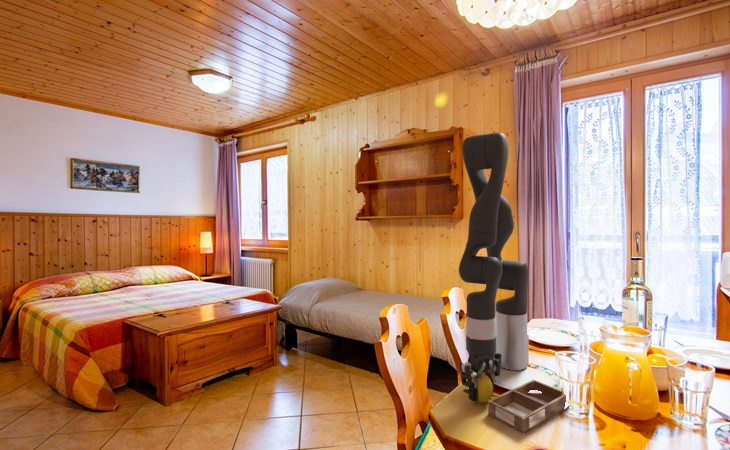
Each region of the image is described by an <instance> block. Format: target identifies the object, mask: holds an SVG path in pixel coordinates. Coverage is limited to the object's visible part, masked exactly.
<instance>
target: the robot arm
mask: <svg viewBox="0 0 730 450" xmlns="http://www.w3.org/2000/svg"><path fill="white" fill-rule="evenodd" d="M461 146H462V147H461V150H462V159H463V162H464V166H465V169H466V173H467V175H468V179H469V182H470V185H471V187H472V188H471V189H472V191H473V195H474V200H475V203H474V204H473V206H472V208H471V210H470V214H469V217H468V218H469V219H468V230H467V231H468V234H467V240H466V244H465V248H464V250H463V251H464V252H463V254H462V256H461V258H460V262H459V266H458V275H459V277H460V279H461V280H462V281H463V282H464V283H468V284H477V285H478V284H479V285H485V288H484V289H483V290H480V291H479V290H478V291H472V292H470V293H468V294H467V295H466V318H465V319H466V320H465V349H466V351H467V354H468V358H467V361H466V362H465V363H463V362H460V363H459V365H458V366H459V371H460V380H461V384H462V386H465V387H467V388H468V399H469V400H470V401H471V402H474V403H478V402H479V401H478V388H477V386H478V382H479V380H481V377H482V374H486V375H487V376H488V377H489V378H490V380H491V382H492V387H493V393H492V396H493V395H494V391H495V381H496V378H498V377H500V375H501V368H502V369H504V368H505V369H504V370H508V369H510V370H509V371H523V370H522V369H524V370H525V368H526V367H527V368H528V365H529V352H530V351H529V345H530V344H529V341H530V340H529V338H530V337H529V334H528V301H529V300H528V298H529V297H528V296H529V295H528V293H529V292H528V291H529V277H530V276H529V275H530V274H529V268H528V265H527V263H526V262H524V261H517V260H503V259H502V252H503V249H504V248H505V245H506V243H507V242H508V240H509V239H510V237H511V236H512V233H514V232H513V231H514V228H515V223H514V218H513V217H514V216H513V211H512V207H511V205H510V203H509V202H508V200H507V199H506V198H505V196H503V194H502V192H503V189H504V188H503V187H504V182H505V178H506V171H507V166H508V160H509V143H508V139H507V136H506V135H505V134H504V133H503V132H491V133H484V134H477V135H472V136H467V137H466V138H464V140H463V142H462V145H461ZM485 170H490V175H489V177H487V175H486V173H485ZM482 249H486V255H487V256H481V255H480V256H479V255H478V253H479V251H481V250H482ZM498 290H504V291H513V292H514V294H513V296H511V297H507V298H503V299H499V300H497V301H496V297H497V293H498ZM527 368H526V369H527ZM476 374H477V375H476ZM473 378H474V383H473V382H472V379H473Z"/></svg>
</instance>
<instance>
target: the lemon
mask: <svg viewBox="0 0 730 450" xmlns="http://www.w3.org/2000/svg"><path fill="white" fill-rule="evenodd" d="M475 375H477V373H475ZM472 382H473V383H474V378H473V379H472ZM477 388H478V402H479V403H480V404H483V403H484V402H488V401H489V400H491V399H492V396H493V395H492V393H493V387H492V382H491V380H490V378H489V377H488V376H487V375H486V374H484V373H483V374H482V377H481V380H479V382H478V386H477Z"/></svg>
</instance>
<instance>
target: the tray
mask: <svg viewBox="0 0 730 450" xmlns="http://www.w3.org/2000/svg"><path fill="white" fill-rule="evenodd" d="M530 390H538V391H541V392H542V394H529V393H528V392H529V391H530ZM560 390H561V389H558V388H555V387H553V386H551V385H548V384H546V383H543V382H541V381H538V380H536V379H531V380H530V381H526V382H525V383H523V384H520V385H519V386H517V387H515V388H512V389H509V390H508V391H506V392H504V393H502V394H500V395H498V396H496V397H495V396H494V397H493V398H490V399H489V400H488V401H487V414H488V416H490V417H491V418H492V419H493V418H494V419H495V420H497V421H498V422H501V423H503V424H504V425H506V426H508V427H509V428H511V429H513V430H515V431H517V432H519V433H520V434H523V435H525V434H527V433H529V432H530V431H532V430H534V429H536V428H537V427H540V425H542V424H543V423H546V422H547V421H549V420H551V419H553V418H554V417H555V416H557V415H559V414H561V413H562V412H564V411H565V410H564V407H565V402H566V395H565V394H564V395H562V396H561V391H562V390H561V391H560ZM563 410H564V411H563Z"/></svg>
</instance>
